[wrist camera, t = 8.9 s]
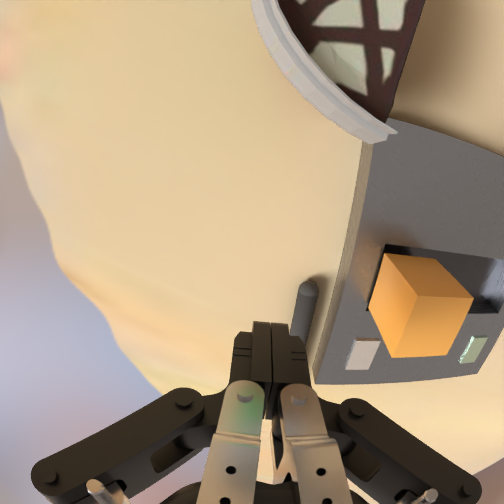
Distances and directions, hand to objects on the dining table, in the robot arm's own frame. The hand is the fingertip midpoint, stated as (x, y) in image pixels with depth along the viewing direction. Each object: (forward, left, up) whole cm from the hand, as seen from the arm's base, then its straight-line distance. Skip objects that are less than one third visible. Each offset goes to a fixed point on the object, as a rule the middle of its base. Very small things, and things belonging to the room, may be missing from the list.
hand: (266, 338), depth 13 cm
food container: (-15, +1, -8) cm, 17 cm away
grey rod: (+7, +3, -8) cm, 11 cm away
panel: (0, +14, -8) cm, 16 cm away
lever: (0, +9, -8) cm, 12 cm away
